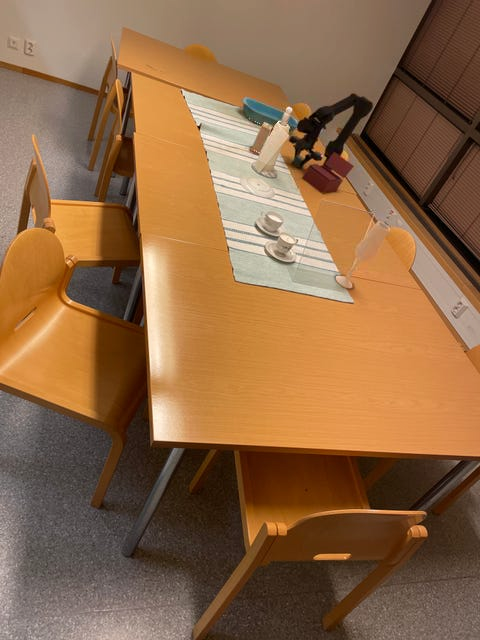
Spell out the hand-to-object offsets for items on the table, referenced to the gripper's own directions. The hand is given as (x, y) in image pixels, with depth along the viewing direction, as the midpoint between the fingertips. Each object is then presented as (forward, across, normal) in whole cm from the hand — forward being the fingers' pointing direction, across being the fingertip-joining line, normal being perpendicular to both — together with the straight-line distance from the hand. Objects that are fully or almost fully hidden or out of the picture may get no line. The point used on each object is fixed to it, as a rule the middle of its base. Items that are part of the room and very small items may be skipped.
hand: (297, 163), depth 240 cm
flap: (-10, +17, +7) cm, 21 cm away
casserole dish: (+1, -44, +27) cm, 52 cm away
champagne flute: (+1, +72, -68) cm, 99 cm away
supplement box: (+1, -14, -19) cm, 24 cm away
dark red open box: (+1, +17, -2) cm, 17 cm away
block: (+1, 0, 0) cm, 1 cm away
